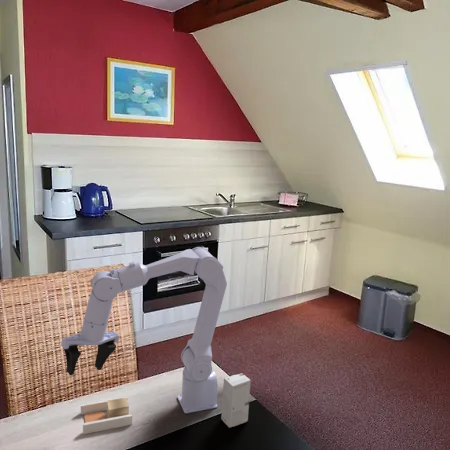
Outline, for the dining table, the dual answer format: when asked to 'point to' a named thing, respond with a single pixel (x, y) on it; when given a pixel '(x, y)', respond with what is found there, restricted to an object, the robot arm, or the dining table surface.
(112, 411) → the block
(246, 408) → the skincare box
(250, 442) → the dining table surface
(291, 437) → the dining table surface
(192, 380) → the robot arm
